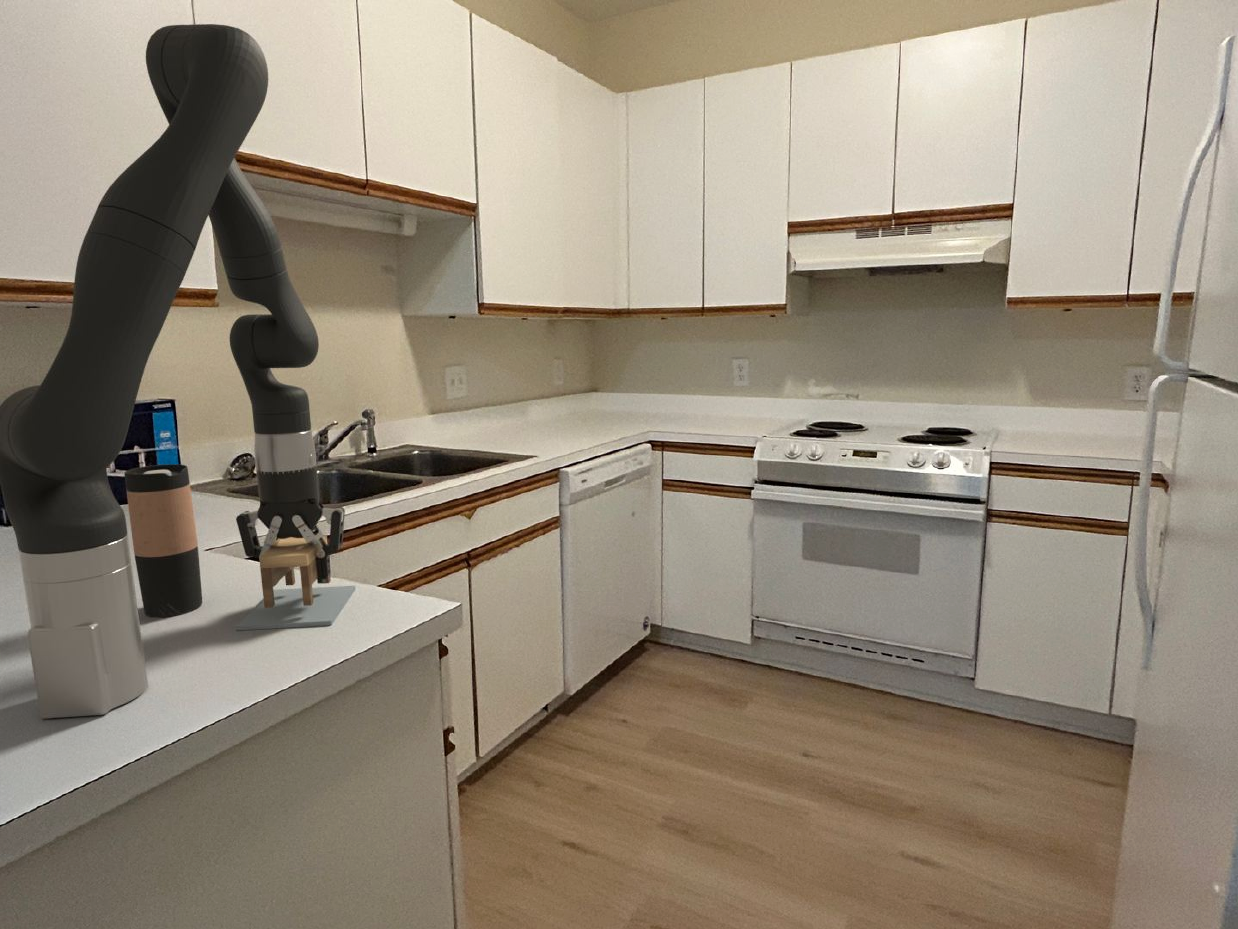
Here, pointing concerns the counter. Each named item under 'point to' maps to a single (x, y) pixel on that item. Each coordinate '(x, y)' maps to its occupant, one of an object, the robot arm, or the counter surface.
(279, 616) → the mat
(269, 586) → the stool
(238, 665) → the counter surface
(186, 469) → the travel mug
